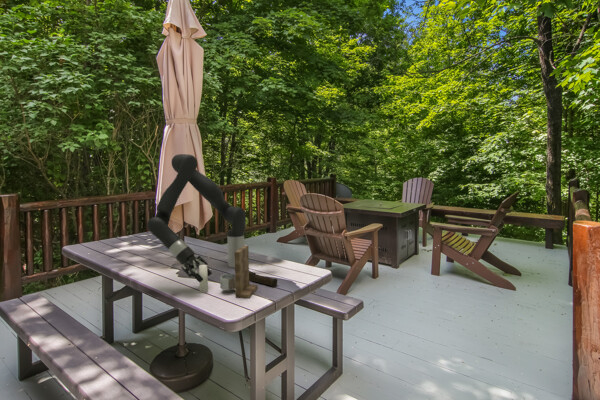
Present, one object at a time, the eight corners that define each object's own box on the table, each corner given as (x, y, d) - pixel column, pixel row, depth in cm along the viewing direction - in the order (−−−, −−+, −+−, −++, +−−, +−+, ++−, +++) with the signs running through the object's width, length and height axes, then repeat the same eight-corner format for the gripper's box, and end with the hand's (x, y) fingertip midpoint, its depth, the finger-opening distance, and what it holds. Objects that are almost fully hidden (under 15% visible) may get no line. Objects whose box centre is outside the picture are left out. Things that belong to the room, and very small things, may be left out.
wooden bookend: (245, 287, 158) (244, 245, 156) (257, 288, 157) (256, 246, 154) (235, 297, 146) (234, 252, 144) (248, 298, 145) (248, 252, 143)
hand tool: (278, 286, 160) (278, 276, 160) (272, 288, 157) (272, 278, 157) (249, 278, 171) (249, 269, 171) (243, 280, 168) (243, 271, 168)
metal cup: (224, 284, 157) (224, 273, 156) (243, 285, 155) (242, 274, 154) (218, 289, 150) (218, 278, 149) (237, 290, 148) (237, 279, 148)
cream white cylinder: (202, 289, 155) (201, 264, 154) (209, 290, 154) (208, 264, 153) (198, 292, 152) (197, 266, 150) (205, 293, 151) (204, 267, 150)
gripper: (178, 250, 145) (204, 277, 144) (194, 242, 159) (218, 267, 158) (167, 261, 147) (193, 288, 146) (184, 253, 161) (208, 277, 160)
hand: (206, 277), depth 152 cm, fingers open, 8 cm apart
